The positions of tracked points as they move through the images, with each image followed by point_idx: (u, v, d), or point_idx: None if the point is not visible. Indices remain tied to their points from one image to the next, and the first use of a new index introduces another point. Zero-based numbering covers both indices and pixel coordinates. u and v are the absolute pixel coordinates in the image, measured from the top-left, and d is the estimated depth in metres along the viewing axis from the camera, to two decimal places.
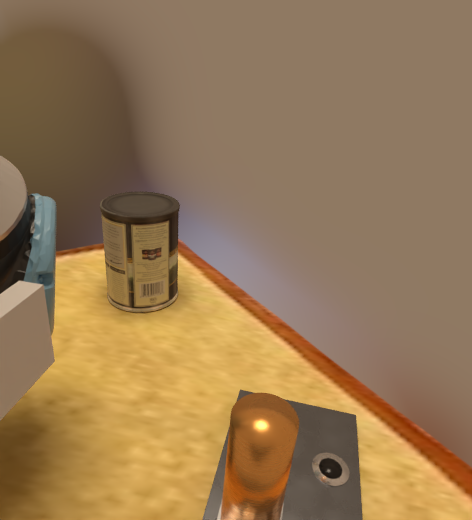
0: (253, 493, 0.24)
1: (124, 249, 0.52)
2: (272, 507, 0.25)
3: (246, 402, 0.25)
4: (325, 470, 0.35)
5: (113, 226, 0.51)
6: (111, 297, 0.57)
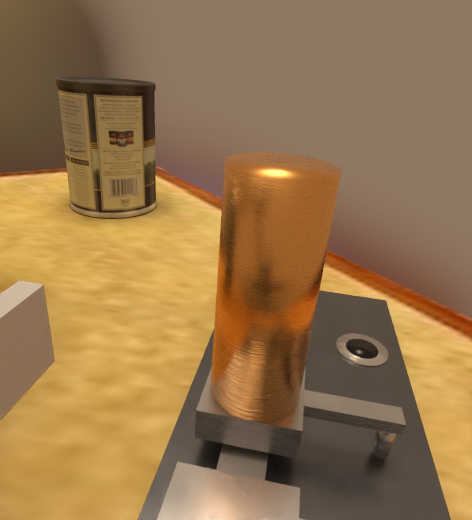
0: (266, 293, 0.14)
1: (87, 130, 0.42)
2: (296, 327, 0.15)
3: (249, 155, 0.15)
4: (355, 350, 0.26)
5: (72, 99, 0.41)
6: (74, 202, 0.47)
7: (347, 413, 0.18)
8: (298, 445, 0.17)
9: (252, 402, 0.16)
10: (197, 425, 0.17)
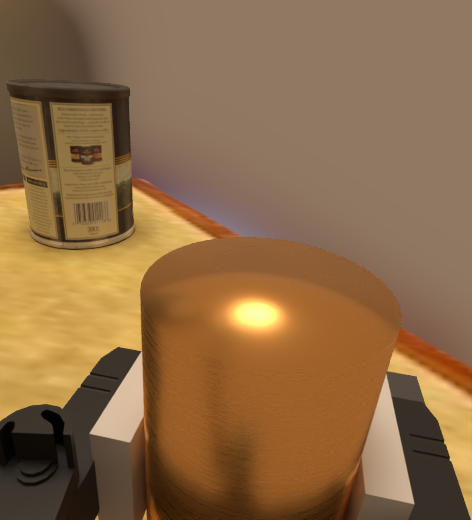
0: None
1: (43, 145, 0.34)
2: None
3: (204, 252, 0.07)
4: None
5: (24, 108, 0.34)
6: (33, 229, 0.39)
7: None
8: None
9: None
10: None
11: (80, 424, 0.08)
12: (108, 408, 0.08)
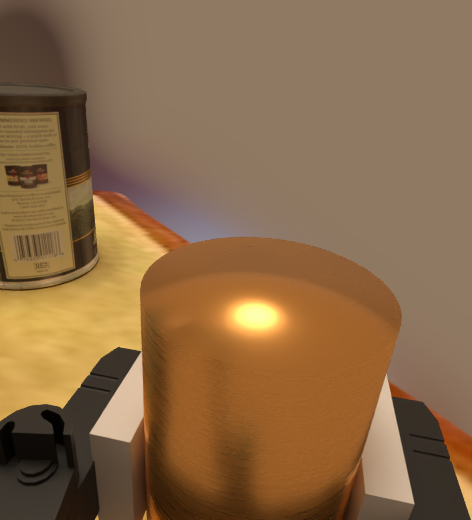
0: None
1: None
2: None
3: (204, 252, 0.07)
4: None
5: None
6: None
7: None
8: None
9: None
10: None
11: (80, 424, 0.08)
12: (108, 408, 0.08)
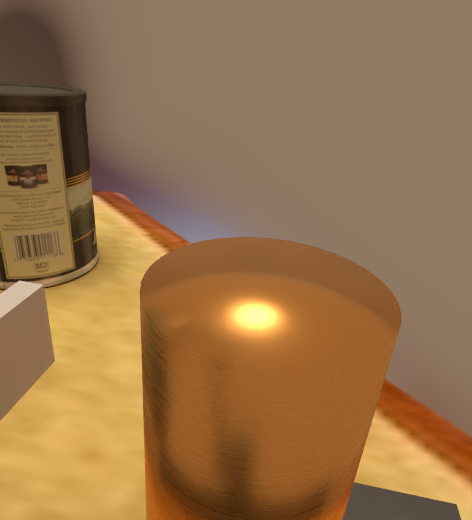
0: None
1: None
2: None
3: (203, 252, 0.07)
4: None
5: None
6: None
7: None
8: None
9: None
10: None
11: None
12: None
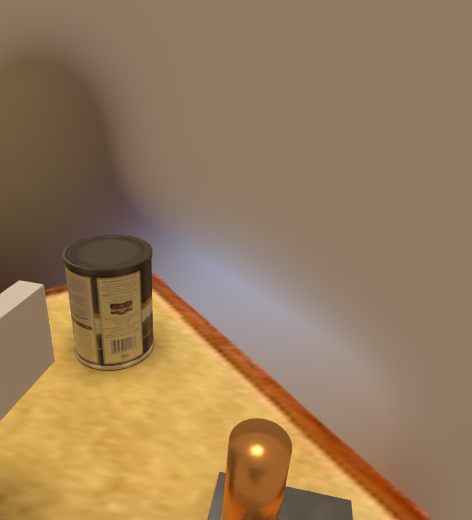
0: (251, 513, 0.26)
1: (90, 304, 0.47)
2: None
3: (242, 428, 0.27)
4: None
5: (77, 279, 0.46)
6: (78, 353, 0.52)
7: None
8: None
9: None
10: None
11: None
12: None
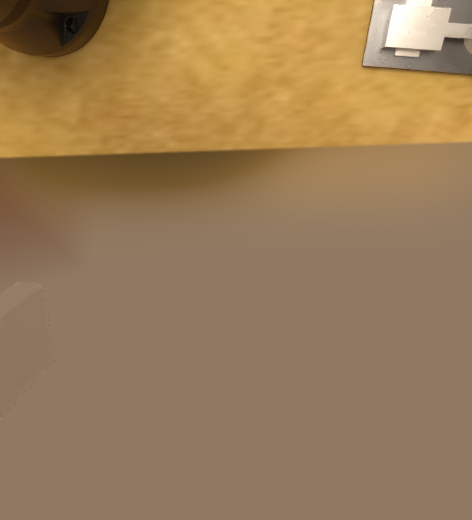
0: None
1: None
2: None
3: None
4: None
5: None
6: None
7: None
8: None
9: None
10: None
11: None
12: None
